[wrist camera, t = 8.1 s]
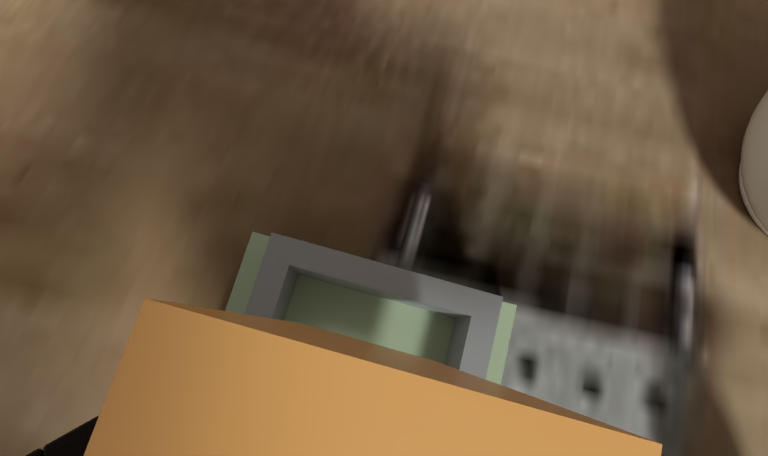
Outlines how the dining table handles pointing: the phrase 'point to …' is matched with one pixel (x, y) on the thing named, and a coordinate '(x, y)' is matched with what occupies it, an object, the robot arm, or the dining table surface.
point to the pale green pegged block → (374, 303)
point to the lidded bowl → (756, 166)
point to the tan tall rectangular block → (317, 398)
